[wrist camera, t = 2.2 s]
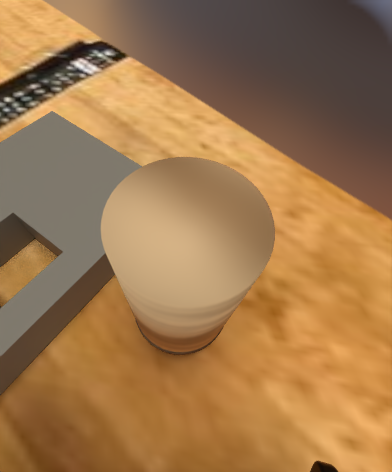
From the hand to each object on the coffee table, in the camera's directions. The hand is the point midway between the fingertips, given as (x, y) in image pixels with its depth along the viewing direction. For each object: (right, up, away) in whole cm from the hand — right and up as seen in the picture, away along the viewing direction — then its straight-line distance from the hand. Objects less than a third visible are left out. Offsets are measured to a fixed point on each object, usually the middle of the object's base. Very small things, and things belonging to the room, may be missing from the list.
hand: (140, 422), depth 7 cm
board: (-11, +4, +14) cm, 18 cm away
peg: (0, -1, +12) cm, 12 cm away
